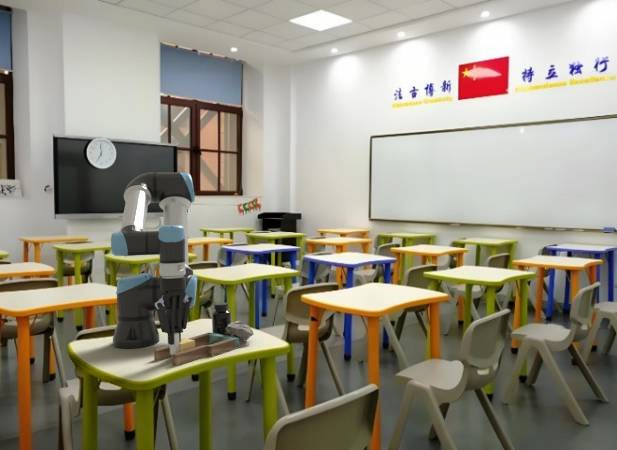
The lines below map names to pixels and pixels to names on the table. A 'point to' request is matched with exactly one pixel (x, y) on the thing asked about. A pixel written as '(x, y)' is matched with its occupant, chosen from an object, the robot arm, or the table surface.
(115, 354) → the table surface
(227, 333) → the mineral specimen
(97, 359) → the table surface
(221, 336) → the chute
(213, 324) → the supplement bottle
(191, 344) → the block
